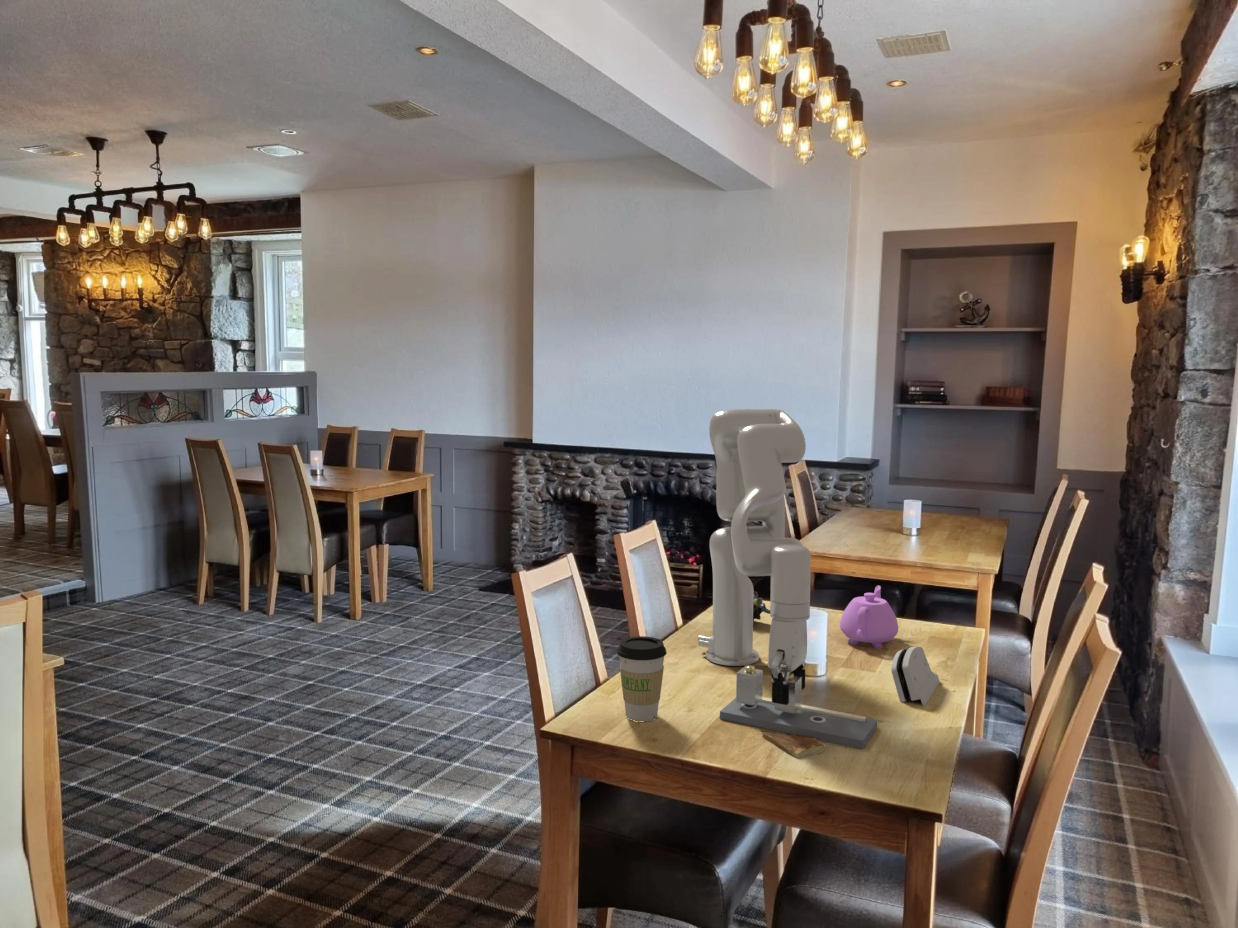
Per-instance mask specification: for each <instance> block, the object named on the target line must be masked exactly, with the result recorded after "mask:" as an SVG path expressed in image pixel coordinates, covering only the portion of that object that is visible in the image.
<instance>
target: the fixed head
mask: <svg viewBox="0 0 1238 928" xmlns="http://www.w3.org/2000/svg"><path fill="white" fill-rule="evenodd" d="M763 675H764V670H763V669H758V668H756V667H755V665H753V664H750V665H744V667H743V666H742V668H741V669H740V670H738V671H737V672H736V689H735V690H736V691H735V693H736V694H735V695H736V696H735V698H736V702H738V703H743V704H748V705H754V706H756V705H757V704H758V703H759V702H760V701H761V700H762V697H763V690H764V689H763V685H764V684H763V683H764V681H763V680H764V678H763V677H764V676H763Z"/></svg>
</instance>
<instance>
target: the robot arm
mask: <svg viewBox="0 0 1238 928" xmlns="http://www.w3.org/2000/svg"><path fill="white" fill-rule="evenodd" d="M708 430H709V439H710V445H711V447H712V449H713V453H714V457H715V460H716V462H715V463H716V491H715V492H716V497H715V498H716V502H715V504H716V512H717V515H718V517H719V518H720V519H721V520H723V521H725V522H731V523H730V526H727V527H721V528H717V530H715V531H713V533H712V534H711V536H710V538H709V552H710V558H711V567H712V569H711V570H712V635H711V636H707V635H702V634H701V635H698V637H697V643H698V646H700V647H707V650H706V652H705V658H706V659H707V660H708V661H709V662H711V663H714V664H717V665H721V666H726V667H727V666H728V667H741V666H742V667H743V666H744V667H745V666H746V665H753V664H755V663H757V662H759V660H760V653H759V652H758V651H757V650H755V649H754V648H753V647H754V646H753V645H754V643H753V642H754V638H753V637H754V621H753V591H754V585H753V581H752V580H751V578H749V577H766V576H768V577H769V576H770V592H769V593H770V597H769V598H770V599H769V600H770V603H769V604H770V605H769V606H770V607H769V610H770V614H769V617H770V618H772V619H771V624H770V630H769V642H768V657H767V659H768V660H767V667H768V668H769V669H770V670H771V674H770V676H771V699H772V702H773V703H778V704H783V705H788V704H789V684H787V682H788V677H789V673H790V672H792V673H794V676H798V677H802V686H801V690H804V689H806V667H807V665H806V659H807V655H808V627H807V626H808V623H807V621H808V620H809V619H810V616H811V566H812V565H811V564H812V562H811V560H812V559H811V558H812V557H811V555H812V554H811V552H810V551H811V550H809V548H807V546H804V545H803V544H802V542H801V541H800V540H799V539H797V538H794V537H785V535H786V534H785V532H786V531H785V529H786V528H785V527H786V500H785V494H786V492H787V486H786V485H787V484H786V480H785V476H784V470H783V469H784V468H783V465H782V463H788V464H789V463H798V462H800V461H801V460H802V459H803V458H804V456H805V454H806V447H807V446H806V445H807V444H806V438H805V435H804V432H803V430H802V429H801V427H800V425H799V424H798V423H797V422H796V421H795V419H794V418H792V417H791V416H790V415H789V414H788V413H787V412H785V411H784V410H781V409H777V408H776V409H772V408H771V409H770V408H767V409H766V408H764V409H763V408H762V409H755V408H754V409H753V408H752V409H750V408H744V409H743V408H741V409H740V408H739V409H738V408H737V409H736V408H735V409H725V410H720V411H718V412H715V413H714V414H713V415H712V417H711V418H710V421H709V428H708ZM747 522H762V525H761V526H760V525H759V526H747ZM783 673H785V674H784V677H783V675H782V674H783Z"/></svg>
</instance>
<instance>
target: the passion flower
mask: <svg viewBox="0 0 1238 928" xmlns="http://www.w3.org/2000/svg"><path fill="white" fill-rule="evenodd" d="M762 613H765V614H767V615H768V614H769V615H770V609H768V608H767V607H766V603H765V602H764V599H763V598H762V597H759V594H758V592H757V591H754V590H753V622H754V620H759V621H760V620H762V619H761V618H762V616H761V614H762Z"/></svg>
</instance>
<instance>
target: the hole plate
mask: <svg viewBox="0 0 1238 928" xmlns="http://www.w3.org/2000/svg"><path fill="white" fill-rule="evenodd" d="M719 719H720V720H723V721H730V722H733V723H740V724H743V725H748V726H753V727H758V728H762V729H766V730H767V729H768V730H772V731H775V732H780V733H789V734H797V735H802V736H809V737H815V738H816V740H818V741H819V740H820V741H823V742H829V743H834V744H838V745H843V746H848V747H853V748H857V749H862V750H863V749H864V748H865V746H866V745H867V743H868V742H869V740H870V739H871V737H872V736H873V735H874V733H875V731H876V730H877V729H878V719H875V718H870V717H867V716H864V715H863V716H862V715H860V714H854V713H847V712H843V711H838V710H837V711H836V710H832V709H827V708H822V707H817V706H811V705H808V704H802V703H801V707H800V708H799V709H798V710H797V711H796V713H795V714H794V713H789V712H784V711H779V710H775V703H773V702H772V698H771V697H770V698H769V697H764V696H762V700H761V701H760V702H759V703H758V704H757V705H756V706H754V705H748V704H743V703H738V702H736V697H735V698H734V699H732V700H731V701H730V702H729V703H728V704H727V705H726V706H725V707H723V708H722V709H721V710H720V711H719Z"/></svg>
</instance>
